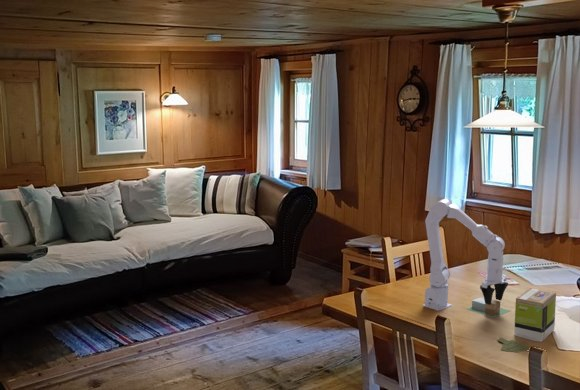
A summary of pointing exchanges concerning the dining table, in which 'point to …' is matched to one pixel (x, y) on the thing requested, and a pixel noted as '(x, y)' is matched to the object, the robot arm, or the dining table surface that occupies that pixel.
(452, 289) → the dining table surface
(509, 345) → the green leaf
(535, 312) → the tea box
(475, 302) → the base block
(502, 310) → the felt mat
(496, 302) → the walnut cube
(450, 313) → the dining table surface
